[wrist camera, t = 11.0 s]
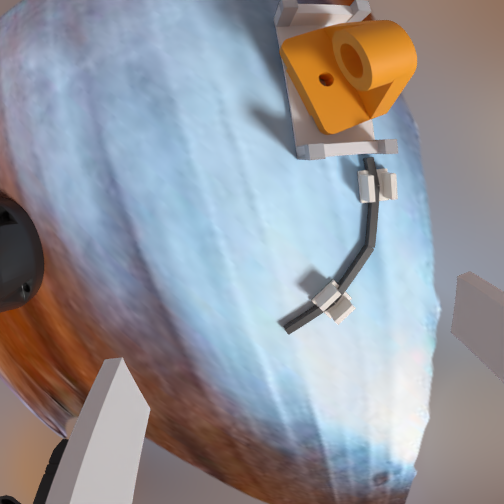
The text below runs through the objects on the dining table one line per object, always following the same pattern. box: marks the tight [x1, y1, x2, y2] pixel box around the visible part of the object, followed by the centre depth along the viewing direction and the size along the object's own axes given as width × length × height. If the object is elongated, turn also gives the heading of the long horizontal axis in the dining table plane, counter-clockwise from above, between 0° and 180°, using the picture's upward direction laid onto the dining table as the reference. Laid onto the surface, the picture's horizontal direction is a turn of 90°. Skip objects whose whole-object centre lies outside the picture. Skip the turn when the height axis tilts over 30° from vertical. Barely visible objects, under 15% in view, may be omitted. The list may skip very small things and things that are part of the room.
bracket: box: [279, 20, 417, 135], centre depth 22 cm, size 11×7×12 cm, turn 26°
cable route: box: [284, 157, 398, 334], centre depth 34 cm, size 6×23×3 cm, turn 157°
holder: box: [274, 0, 398, 160], centre depth 26 cm, size 9×17×6 cm, turn 8°
